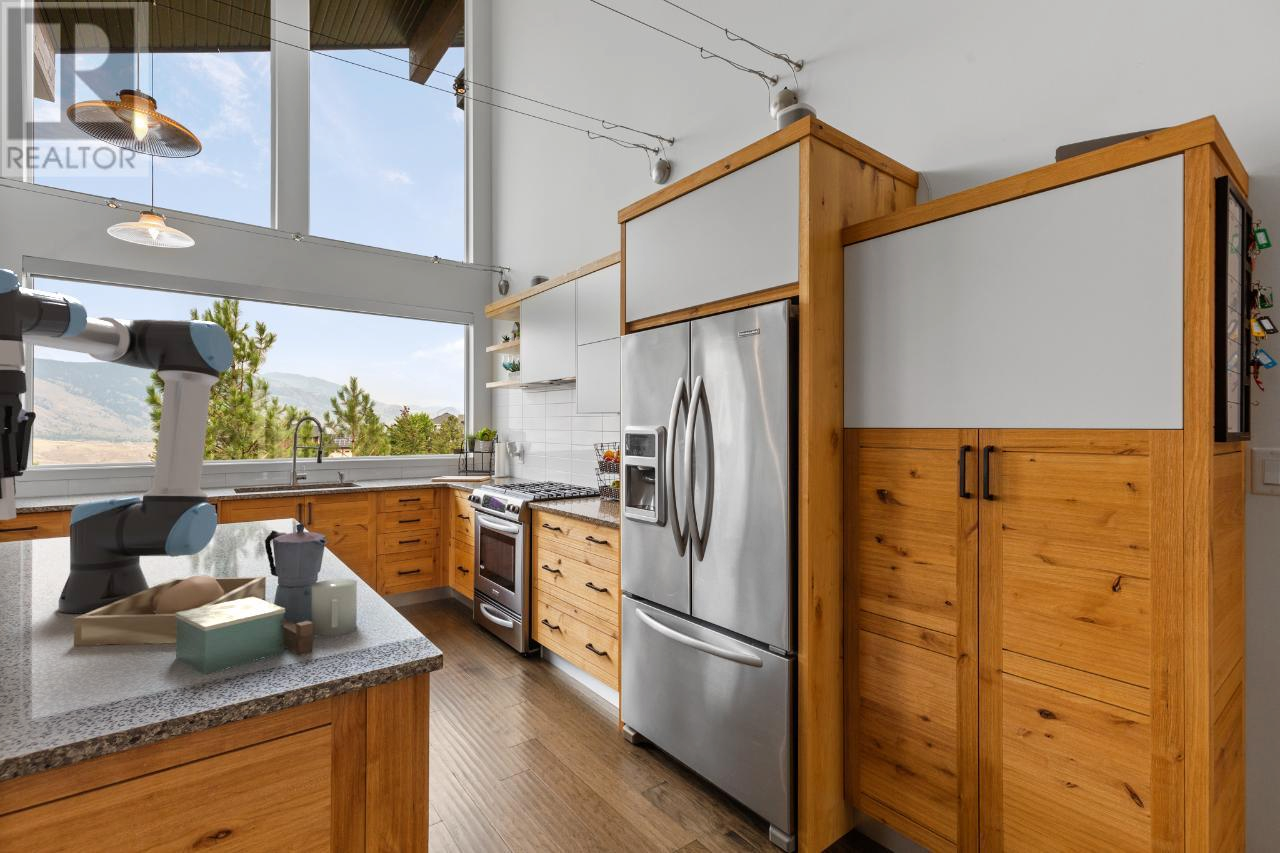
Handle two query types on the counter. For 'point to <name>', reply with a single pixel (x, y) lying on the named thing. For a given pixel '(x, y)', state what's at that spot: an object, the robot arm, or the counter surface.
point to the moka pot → (295, 570)
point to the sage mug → (334, 607)
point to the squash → (187, 595)
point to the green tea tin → (229, 634)
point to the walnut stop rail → (298, 637)
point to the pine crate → (139, 626)
